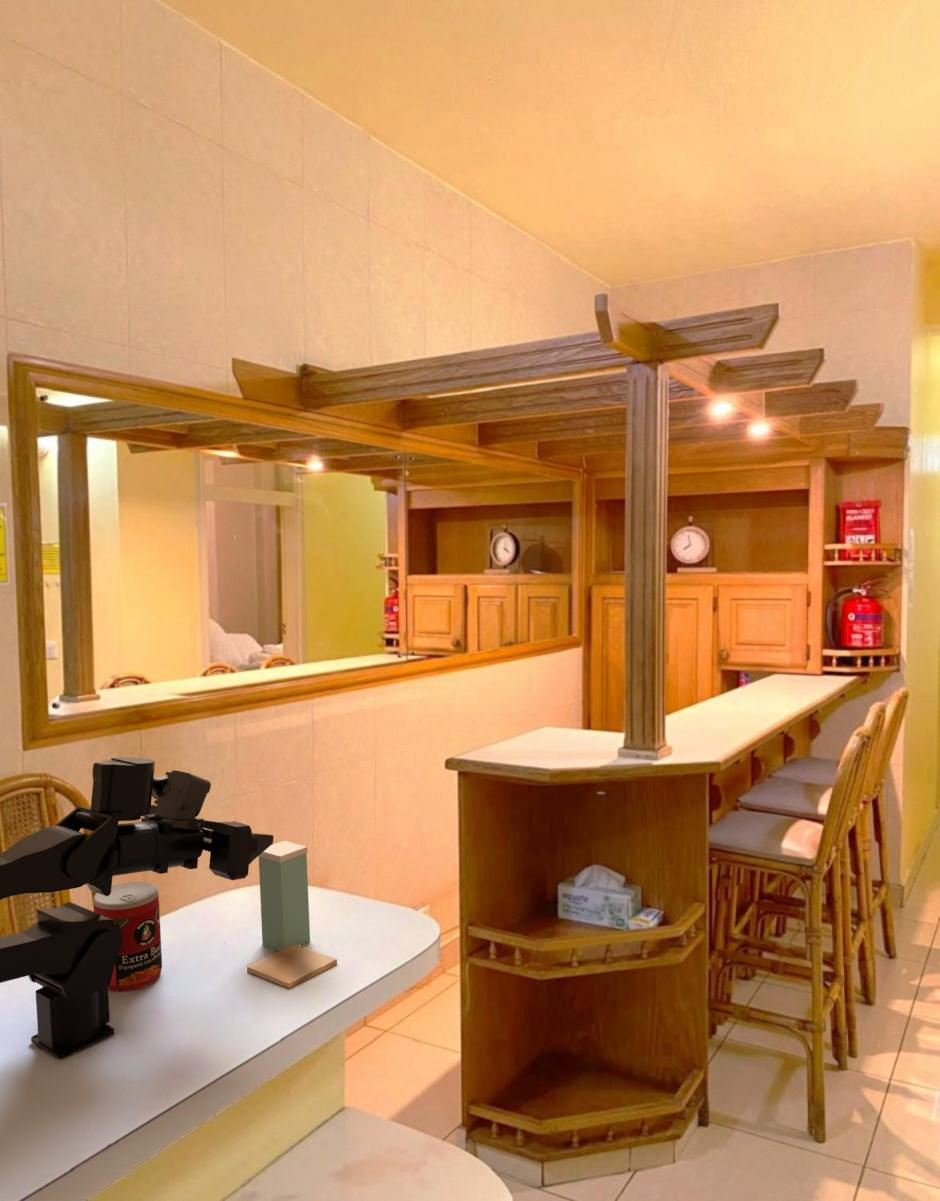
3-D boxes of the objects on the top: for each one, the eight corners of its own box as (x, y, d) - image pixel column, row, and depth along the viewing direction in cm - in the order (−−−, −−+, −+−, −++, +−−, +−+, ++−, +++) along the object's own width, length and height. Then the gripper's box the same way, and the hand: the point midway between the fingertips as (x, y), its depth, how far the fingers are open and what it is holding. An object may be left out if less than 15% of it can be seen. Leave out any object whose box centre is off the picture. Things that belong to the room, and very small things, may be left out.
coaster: (289, 988, 112) (289, 983, 111) (247, 971, 116) (246, 966, 116) (337, 963, 118) (336, 959, 118) (295, 948, 123) (294, 944, 123)
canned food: (121, 998, 110) (116, 909, 110) (85, 981, 115) (80, 895, 114) (175, 974, 116) (171, 889, 116) (139, 958, 121) (135, 877, 121)
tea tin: (284, 953, 121) (280, 856, 121) (261, 945, 124) (257, 850, 123) (311, 941, 125) (307, 846, 124) (288, 933, 128) (284, 840, 127)
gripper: (197, 788, 103) (302, 780, 115) (106, 767, 114) (211, 762, 126) (188, 889, 102) (295, 870, 114) (98, 858, 113) (204, 844, 126)
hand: (249, 833), depth 120 cm, fingers open, 9 cm apart
